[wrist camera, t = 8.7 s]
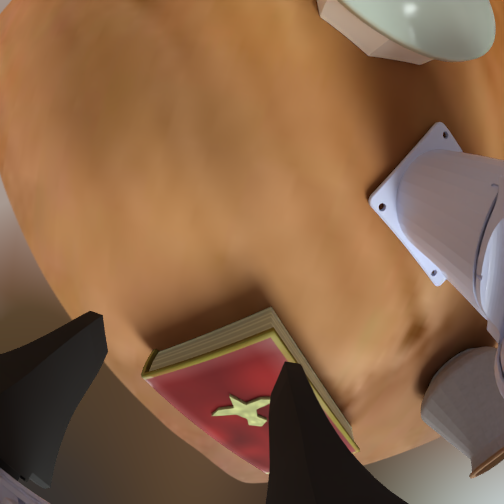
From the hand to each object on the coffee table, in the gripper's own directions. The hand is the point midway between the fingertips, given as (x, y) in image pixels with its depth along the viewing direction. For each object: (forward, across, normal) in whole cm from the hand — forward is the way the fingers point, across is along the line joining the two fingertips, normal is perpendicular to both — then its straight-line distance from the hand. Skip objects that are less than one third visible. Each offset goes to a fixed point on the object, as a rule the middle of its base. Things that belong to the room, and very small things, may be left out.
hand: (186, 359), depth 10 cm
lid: (+5, -6, -20) cm, 22 cm away
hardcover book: (+10, -6, +14) cm, 19 cm away
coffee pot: (+10, -31, +6) cm, 33 cm away
